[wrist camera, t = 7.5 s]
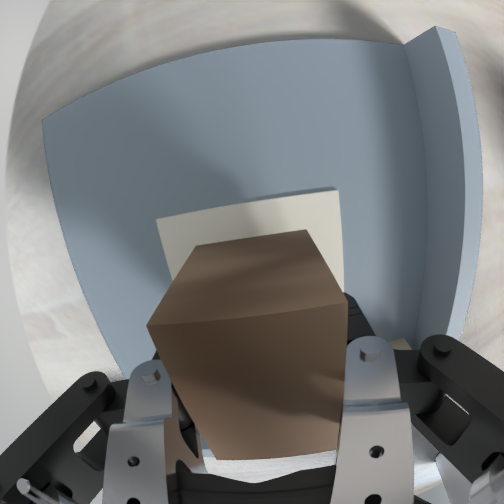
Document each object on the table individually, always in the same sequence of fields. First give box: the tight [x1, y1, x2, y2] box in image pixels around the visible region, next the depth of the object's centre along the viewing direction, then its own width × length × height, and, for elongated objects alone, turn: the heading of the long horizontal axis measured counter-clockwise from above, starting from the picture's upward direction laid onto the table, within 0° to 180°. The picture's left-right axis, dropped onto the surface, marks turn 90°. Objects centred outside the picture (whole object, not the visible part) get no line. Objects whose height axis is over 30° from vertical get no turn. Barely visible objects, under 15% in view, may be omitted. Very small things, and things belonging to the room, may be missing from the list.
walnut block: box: [146, 229, 348, 460], centre depth 8 cm, size 4×6×5 cm, turn 9°
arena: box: [42, 26, 483, 457], centre depth 12 cm, size 22×20×4 cm
